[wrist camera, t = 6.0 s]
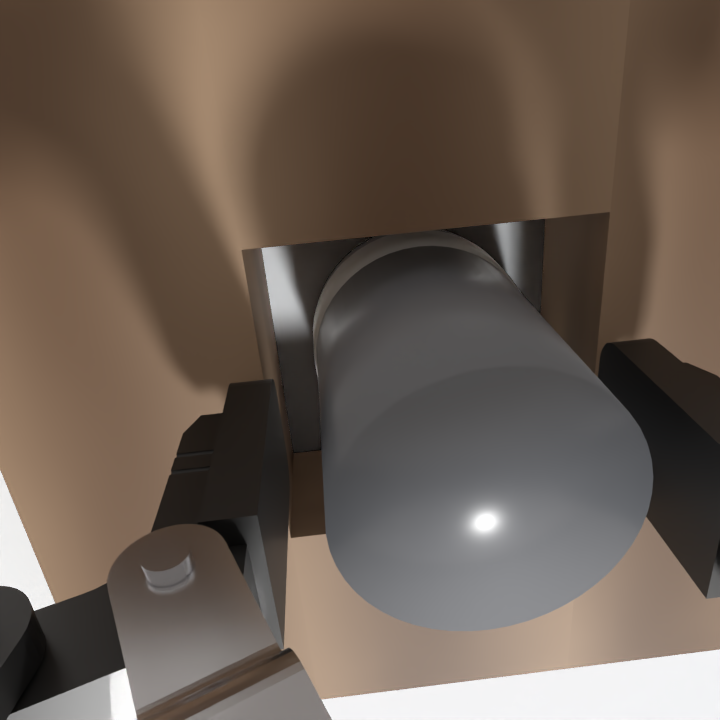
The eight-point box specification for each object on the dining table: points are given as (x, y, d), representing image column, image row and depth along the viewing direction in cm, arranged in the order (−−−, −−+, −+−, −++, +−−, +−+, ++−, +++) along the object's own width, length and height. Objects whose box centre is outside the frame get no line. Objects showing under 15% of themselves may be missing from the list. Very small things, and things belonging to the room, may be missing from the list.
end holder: (846, -146, 11) (1023, -211, 8) (700, 554, 18) (769, 643, 15) (-97, -65, 10) (-239, -106, 8) (137, 622, 17) (106, 726, 15)
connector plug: (513, 214, 13) (679, 342, 7) (509, 398, 15) (637, 612, 9) (300, 236, 13) (300, 385, 7) (324, 420, 15) (338, 651, 9)
